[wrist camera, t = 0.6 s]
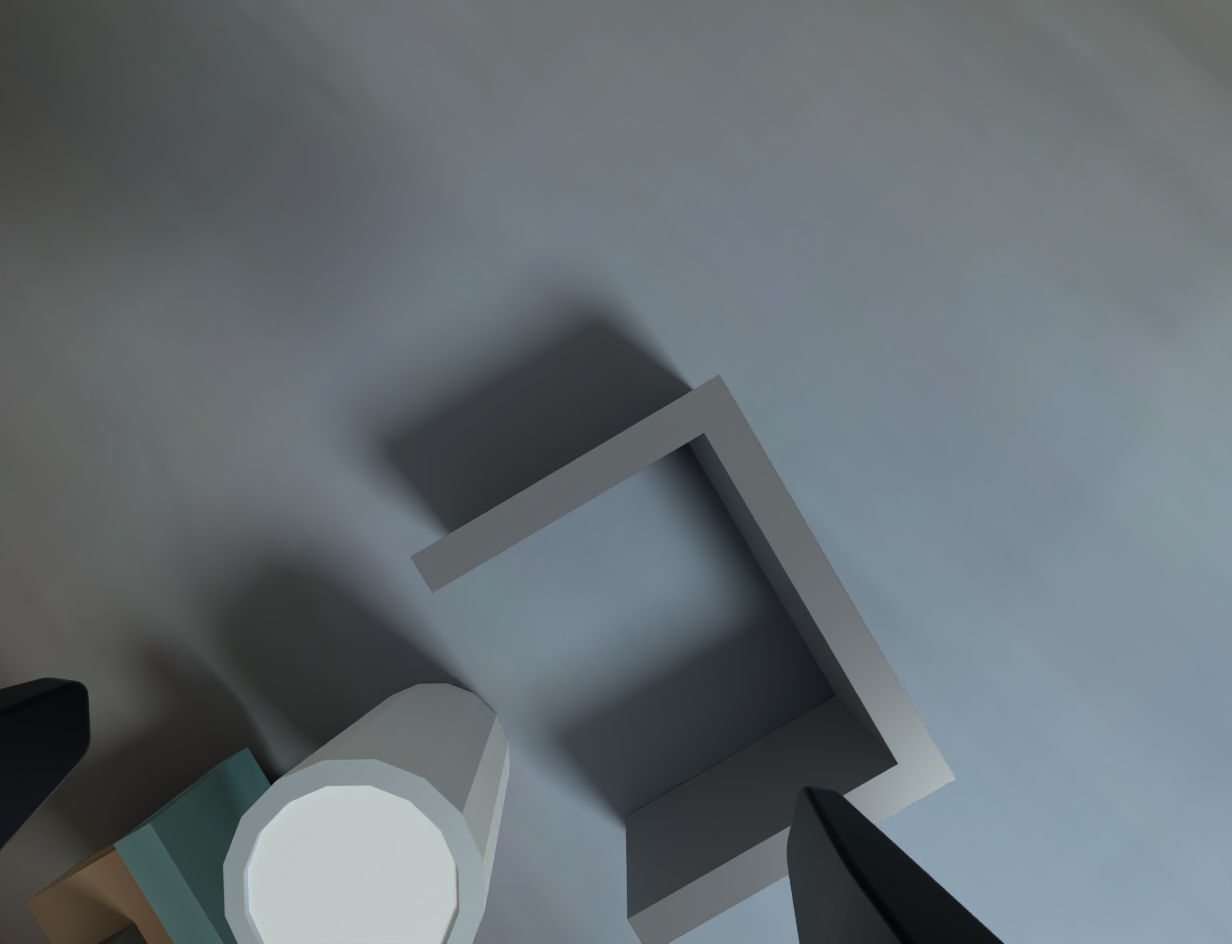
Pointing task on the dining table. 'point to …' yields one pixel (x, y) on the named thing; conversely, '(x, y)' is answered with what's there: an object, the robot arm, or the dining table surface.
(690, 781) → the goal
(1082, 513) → the dining table surface
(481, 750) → the white cylinder
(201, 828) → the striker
